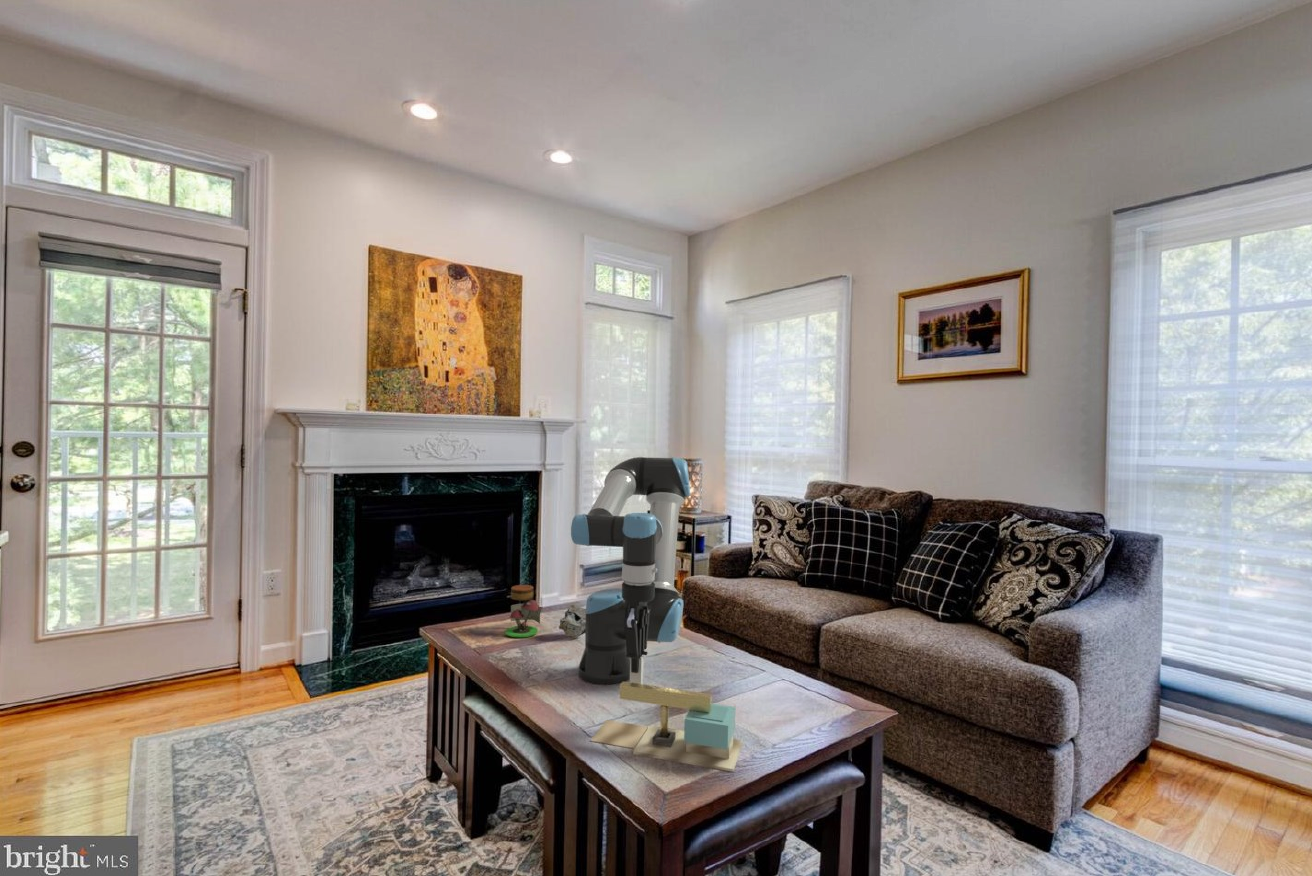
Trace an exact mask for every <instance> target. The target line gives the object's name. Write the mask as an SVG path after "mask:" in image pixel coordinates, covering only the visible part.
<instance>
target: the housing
mask: <svg viewBox="0 0 1312 876" xmlns="http://www.w3.org/2000/svg"><path fill="white" fill-rule="evenodd" d="M660 736H661V726H657V725H652V724H651V725H649V726H648V728H647V730H646V731H645V733H644V734H643V736H642V737H641V739H640V740H639V742H638V744H637V745H636V747H635V748H634V749H633V751H632V754H633V755H637V756H641V757H647V758H653V759H659V760H664V761H671V762H675V763H681V764H686V765H693V766H698V767H699V766H700V767H702V768H703V767H704V768H710V769H714V770H715V769H716V770H720V771H721V770H722V771H726V772H734V770H735V769H736V768H735V767H736V764H737V761H738V759H739V756H740V753H741V749H742V746H743V740H742V739H736V738H734V735H733V736H732V739H731V741H730V744H729V747H728V750H727V749H721V748H715V747H709V746H703V745H697V744H692V743H686V742H684V730H681V729H674V728H669V727H668V738H662V737H660Z"/></svg>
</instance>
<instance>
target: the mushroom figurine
mask: <svg viewBox="0 0 1312 876" xmlns="http://www.w3.org/2000/svg"><path fill="white" fill-rule="evenodd" d="M510 599H511V600H513V601H514V600H515V601H526V602H525V603H516V604H512V605H510V616H509V618H510V622H516V625H515V626H511V627H508V628H506V629H505V631H504V634H505V635H506V636H507V637H511V638H527V637H531V636H534V635H536V634H537V633H538V628H537V627H536V626H533V625H529V624H528V622H527V621H528V620H529V621H530V620H531V621H532V620H533V621H535V622H537V623H538V624H539V625H540V623H541V622H540V621H541V612H542V610H543V609H544V607H542V606H539V605H538V602H537V601H536V600H534V586H533V585H530V584H529V585H528V584H518V585H517V584H516V585H513V586H511V588H510ZM521 621H522V622H521Z"/></svg>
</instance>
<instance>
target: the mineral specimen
mask: <svg viewBox="0 0 1312 876" xmlns="http://www.w3.org/2000/svg"><path fill="white" fill-rule="evenodd" d="M585 611H586V608H584V607H580V606H579V607H578V606H577V605H574V604H570V605H569V606H568V608H567V610H566V611H565V613H564V617H562V618H560V620H559V626H558V629H559V630H562V631H564V634H565V635H569V636H570V637H571V638H573V639H575V638H579V637H580V636H582V635H584V634H585V629H586V614H585Z"/></svg>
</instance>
